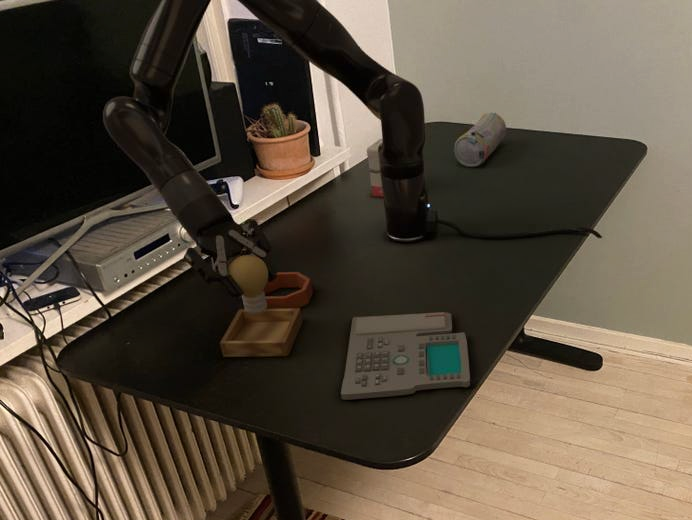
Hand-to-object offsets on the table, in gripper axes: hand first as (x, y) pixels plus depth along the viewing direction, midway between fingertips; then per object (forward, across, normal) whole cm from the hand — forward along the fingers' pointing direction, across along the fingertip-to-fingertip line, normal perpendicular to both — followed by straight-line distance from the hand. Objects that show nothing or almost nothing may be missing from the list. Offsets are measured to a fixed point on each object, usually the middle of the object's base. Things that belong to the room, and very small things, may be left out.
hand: (257, 287), depth 120 cm
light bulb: (+2, 0, +5) cm, 5 cm away
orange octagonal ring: (+1, +12, +14) cm, 18 cm away
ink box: (-13, +63, +28) cm, 70 cm away
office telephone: (+24, +10, -9) cm, 27 cm away
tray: (+6, 0, +8) cm, 11 cm away
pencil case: (-10, +96, +25) cm, 99 cm away
